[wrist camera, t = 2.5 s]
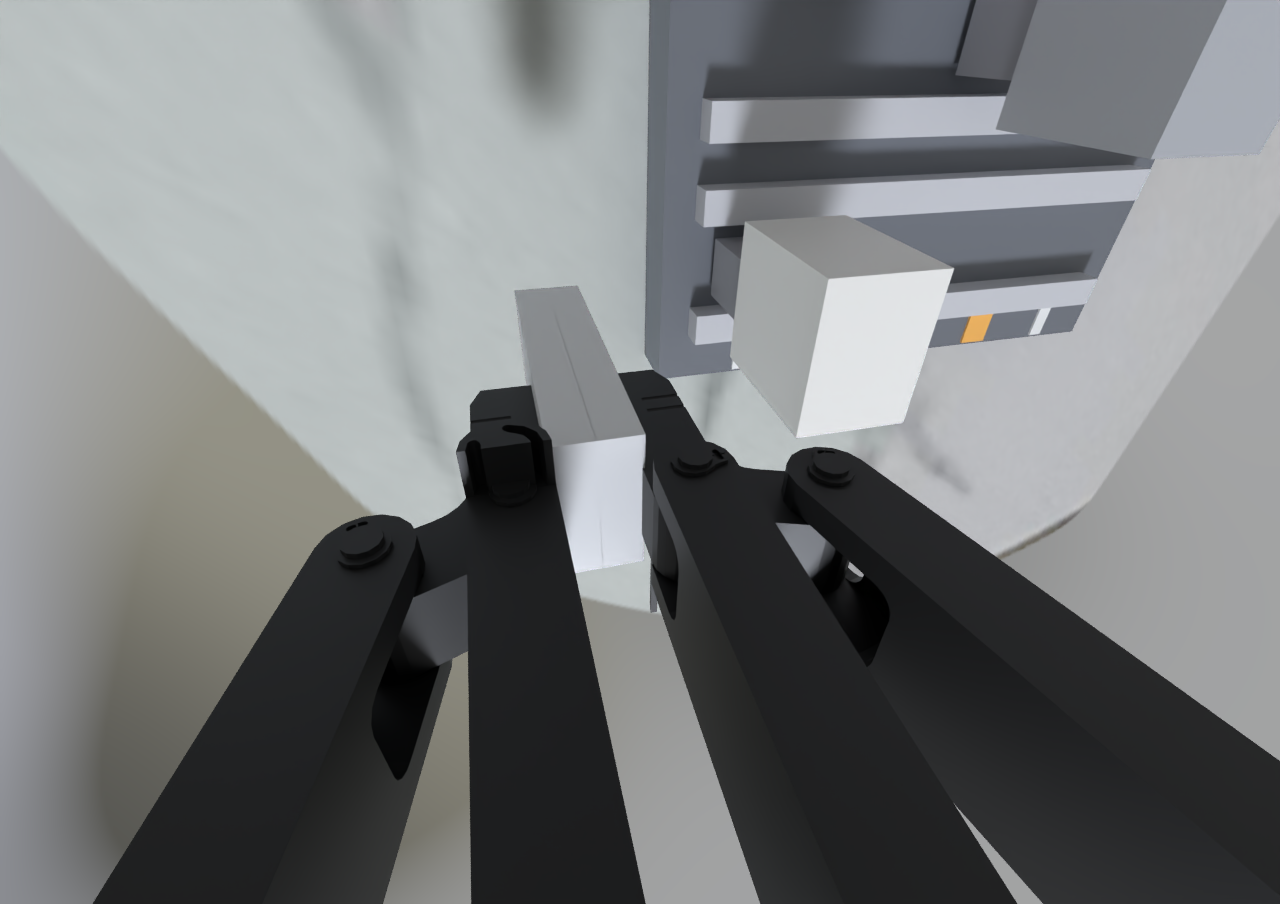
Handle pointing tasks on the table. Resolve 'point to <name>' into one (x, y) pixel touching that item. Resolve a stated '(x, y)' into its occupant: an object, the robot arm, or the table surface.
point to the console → (860, 165)
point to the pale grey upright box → (1133, 72)
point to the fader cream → (828, 319)
